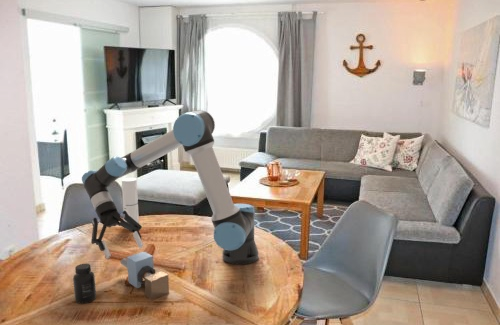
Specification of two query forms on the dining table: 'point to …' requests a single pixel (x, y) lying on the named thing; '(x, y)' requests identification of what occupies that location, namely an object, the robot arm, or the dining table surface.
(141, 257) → the sleeve
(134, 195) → the cylindrical container
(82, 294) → the supplement bottle
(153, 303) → the dining table surface
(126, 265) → the pipe rig
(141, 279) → the ring
